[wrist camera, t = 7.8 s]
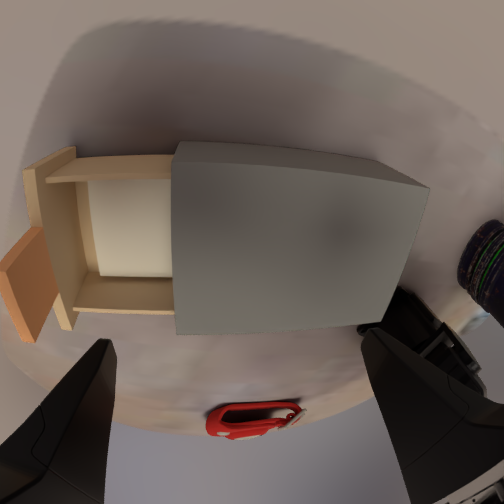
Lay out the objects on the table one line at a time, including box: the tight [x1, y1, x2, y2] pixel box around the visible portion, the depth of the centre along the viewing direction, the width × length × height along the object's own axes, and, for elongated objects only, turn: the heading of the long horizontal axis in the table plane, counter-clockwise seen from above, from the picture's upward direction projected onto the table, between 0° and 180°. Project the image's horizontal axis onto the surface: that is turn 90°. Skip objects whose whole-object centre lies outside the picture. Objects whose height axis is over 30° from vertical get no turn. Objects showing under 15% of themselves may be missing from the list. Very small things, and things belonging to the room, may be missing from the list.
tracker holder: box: [206, 402, 307, 440], centre depth 33 cm, size 12×4×10 cm
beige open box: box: [0, 146, 175, 343], centre depth 15 cm, size 14×10×10 cm
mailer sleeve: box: [171, 141, 430, 335], centre depth 18 cm, size 14×10×6 cm
